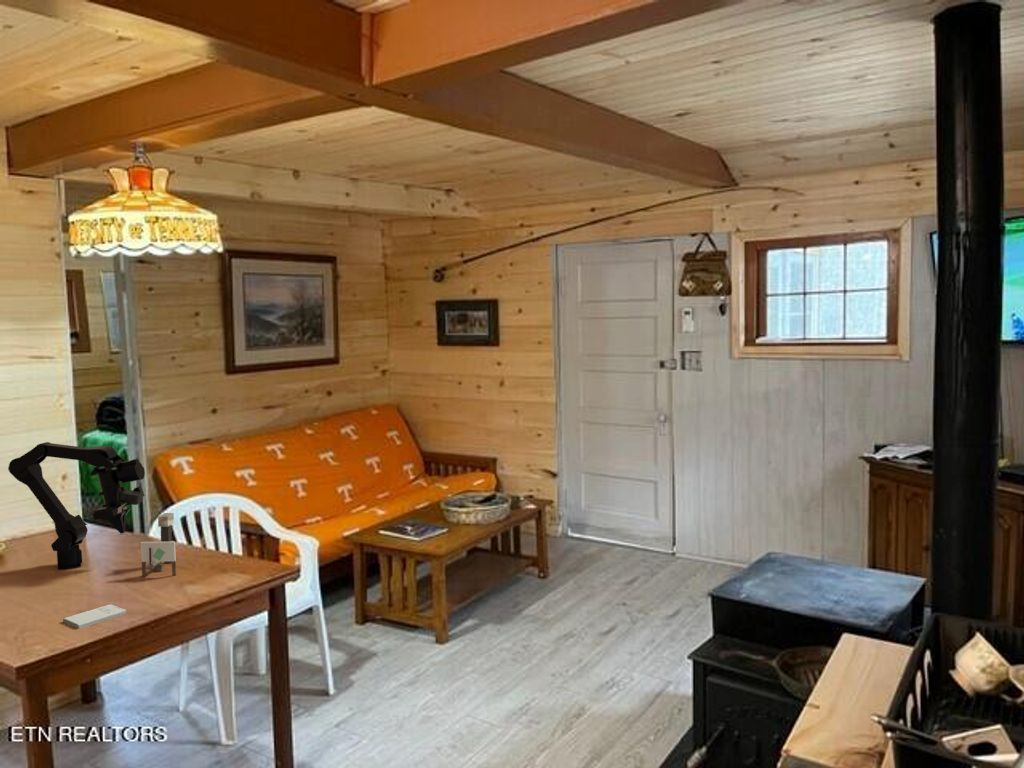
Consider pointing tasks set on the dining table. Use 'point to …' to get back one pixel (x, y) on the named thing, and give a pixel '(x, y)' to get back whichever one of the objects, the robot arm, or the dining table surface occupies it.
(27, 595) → the dining table surface
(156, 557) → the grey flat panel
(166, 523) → the block-topped post frame
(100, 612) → the external hard drive
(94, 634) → the dining table surface
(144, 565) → the peg stand
